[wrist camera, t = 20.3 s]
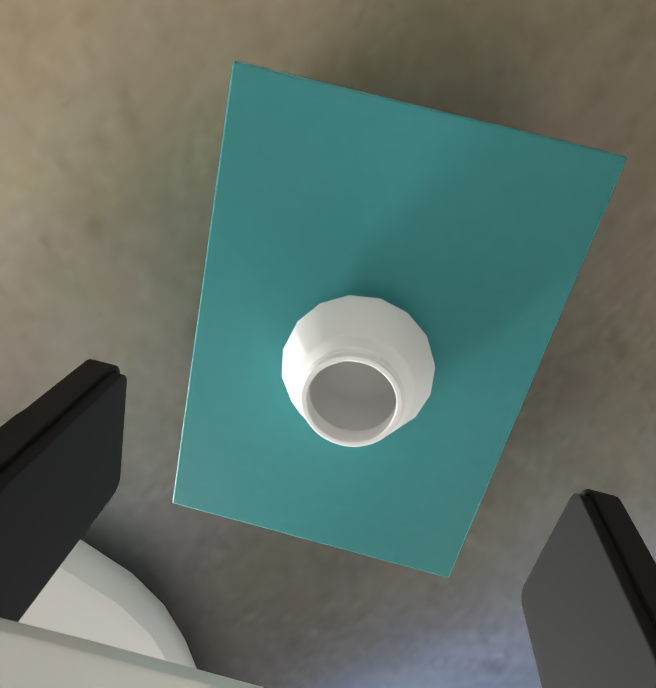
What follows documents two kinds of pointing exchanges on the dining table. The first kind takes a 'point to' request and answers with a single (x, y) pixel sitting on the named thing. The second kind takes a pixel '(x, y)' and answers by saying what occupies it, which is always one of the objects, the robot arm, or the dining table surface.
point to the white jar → (357, 369)
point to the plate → (107, 608)
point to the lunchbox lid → (377, 282)
